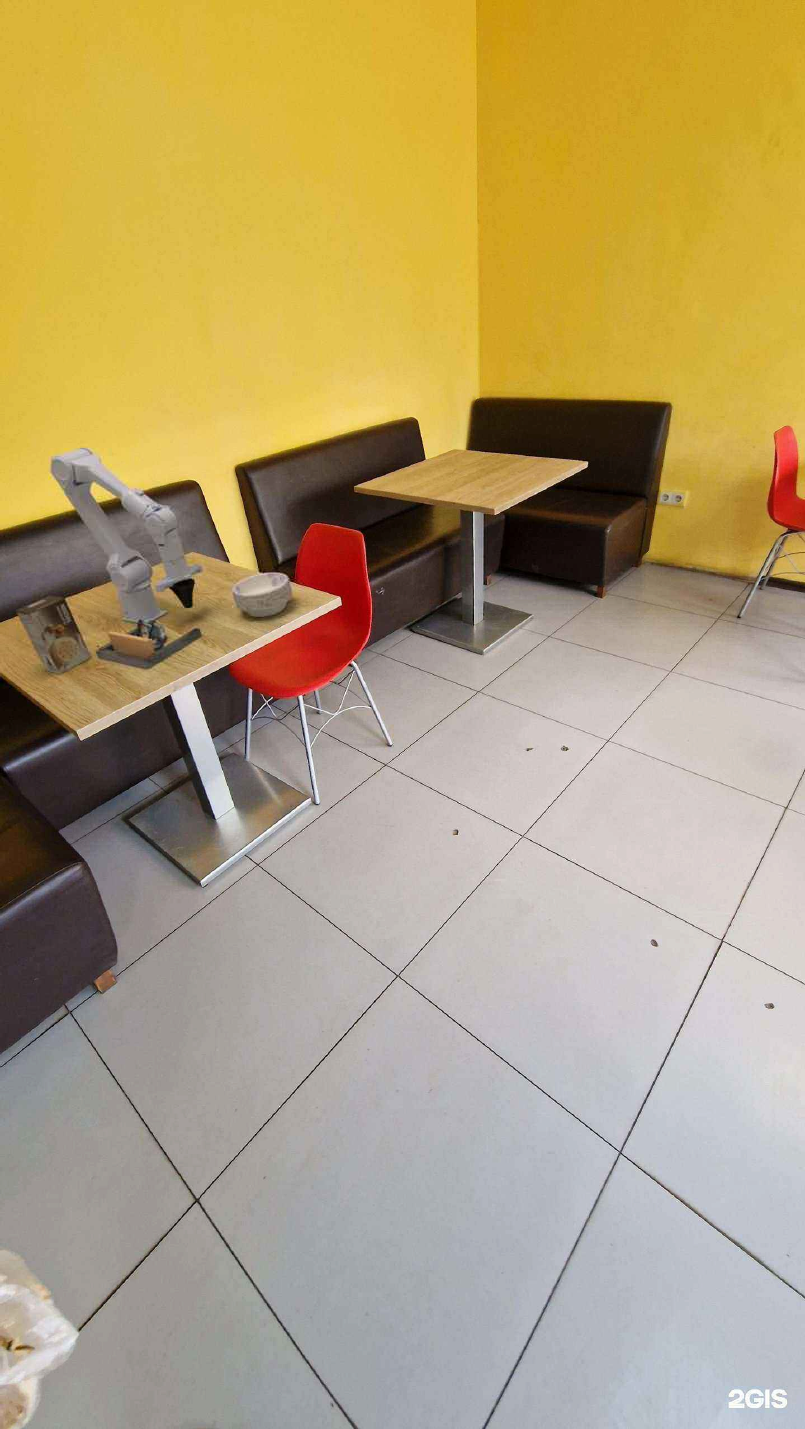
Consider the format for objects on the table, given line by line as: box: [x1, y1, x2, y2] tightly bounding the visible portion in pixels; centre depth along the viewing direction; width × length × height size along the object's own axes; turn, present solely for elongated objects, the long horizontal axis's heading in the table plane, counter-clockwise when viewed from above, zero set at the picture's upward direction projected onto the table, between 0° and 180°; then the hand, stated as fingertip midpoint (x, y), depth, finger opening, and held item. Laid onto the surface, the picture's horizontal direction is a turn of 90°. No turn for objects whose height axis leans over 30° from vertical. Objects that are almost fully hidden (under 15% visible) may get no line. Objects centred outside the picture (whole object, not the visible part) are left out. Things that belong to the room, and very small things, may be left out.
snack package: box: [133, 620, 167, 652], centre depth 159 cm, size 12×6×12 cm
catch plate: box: [107, 630, 156, 658], centre depth 153 cm, size 14×1×5 cm, turn 61°
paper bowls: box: [231, 572, 293, 618], centre depth 167 cm, size 15×15×8 cm
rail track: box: [95, 619, 203, 670], centre depth 157 cm, size 18×18×2 cm
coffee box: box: [15, 595, 92, 675], centre depth 150 cm, size 9×6×16 cm
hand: (188, 607), depth 167 cm, fingers closed
